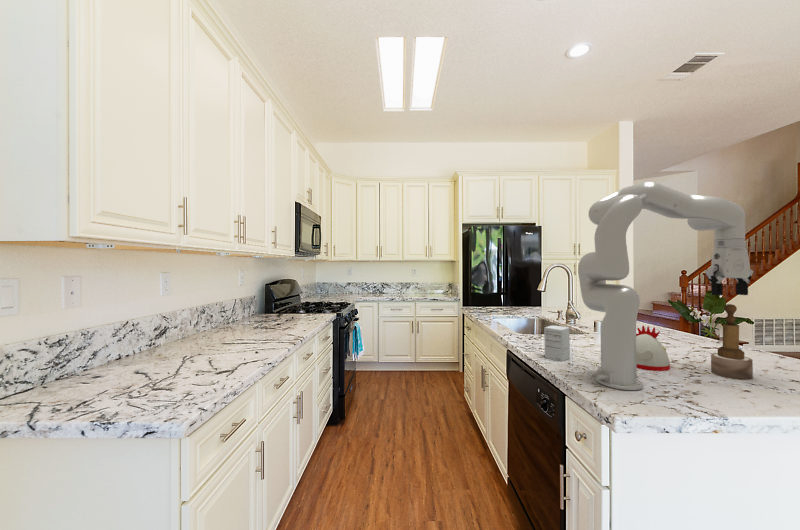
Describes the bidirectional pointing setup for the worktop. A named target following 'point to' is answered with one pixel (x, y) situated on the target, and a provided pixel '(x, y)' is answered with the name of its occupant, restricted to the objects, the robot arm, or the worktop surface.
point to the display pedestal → (732, 367)
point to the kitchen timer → (650, 351)
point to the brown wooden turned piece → (730, 336)
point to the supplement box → (557, 342)
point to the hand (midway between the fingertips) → (729, 294)
